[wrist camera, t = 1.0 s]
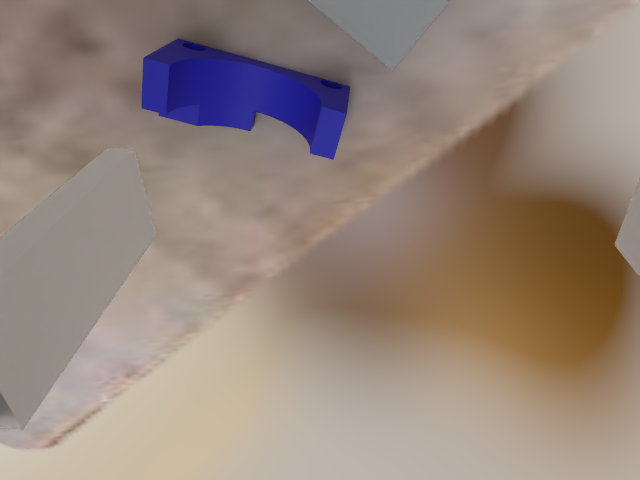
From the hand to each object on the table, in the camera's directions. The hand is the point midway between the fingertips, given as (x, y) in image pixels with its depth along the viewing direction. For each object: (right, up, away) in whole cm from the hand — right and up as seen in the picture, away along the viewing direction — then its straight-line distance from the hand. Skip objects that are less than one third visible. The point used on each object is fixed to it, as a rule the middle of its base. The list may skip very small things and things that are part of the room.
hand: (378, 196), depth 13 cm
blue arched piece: (-6, +9, +21) cm, 24 cm away
